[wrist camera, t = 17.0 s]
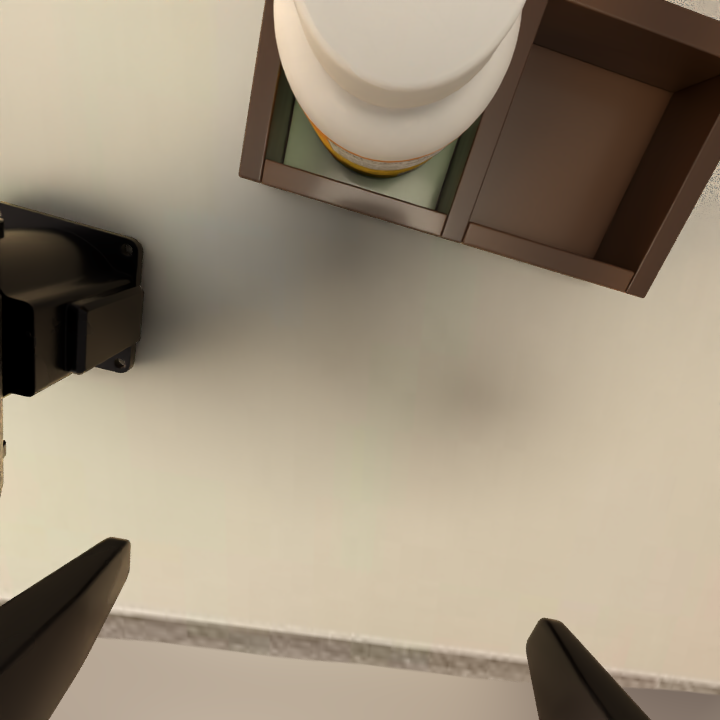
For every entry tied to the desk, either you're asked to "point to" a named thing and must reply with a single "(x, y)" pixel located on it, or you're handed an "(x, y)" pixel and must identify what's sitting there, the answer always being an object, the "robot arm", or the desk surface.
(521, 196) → the organizer
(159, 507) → the desk surface
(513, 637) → the desk surface
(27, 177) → the desk surface
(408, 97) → the supplement bottle
